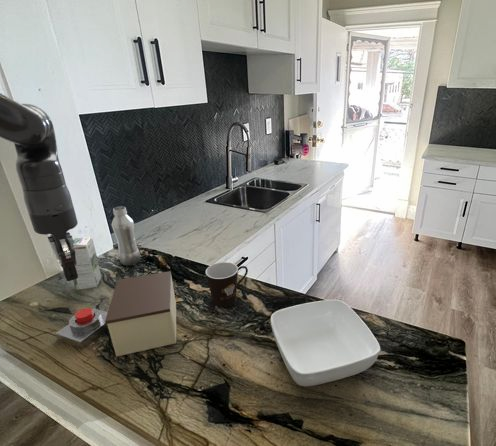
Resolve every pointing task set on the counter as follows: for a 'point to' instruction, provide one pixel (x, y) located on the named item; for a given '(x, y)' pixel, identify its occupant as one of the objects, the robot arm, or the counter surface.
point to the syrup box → (86, 264)
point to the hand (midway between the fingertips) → (72, 278)
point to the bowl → (323, 341)
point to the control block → (83, 330)
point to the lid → (140, 297)
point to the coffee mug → (223, 282)
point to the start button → (84, 316)
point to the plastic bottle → (125, 237)
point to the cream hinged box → (145, 331)
